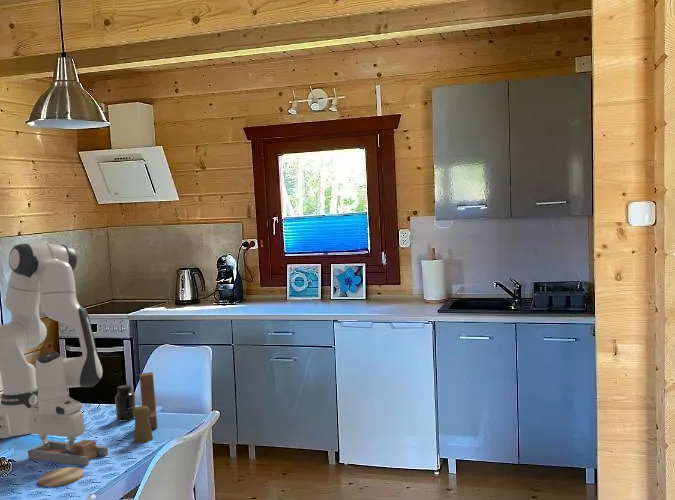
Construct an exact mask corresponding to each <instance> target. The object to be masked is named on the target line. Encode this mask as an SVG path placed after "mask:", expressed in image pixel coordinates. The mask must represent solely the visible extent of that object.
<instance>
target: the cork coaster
mask: <svg viewBox="0 0 675 500" xmlns="http://www.w3.org/2000/svg"><path fill="white" fill-rule="evenodd" d="M84 475H85V472H84V469H83V468H81V467H75V466H72V467H70V466H69V467H62V468H57V469H54V470H53V469H52V470H51V471H48V472H46V473H44V474H42V475H40V477H39V478H38V485H40V486H41V485H42V486H41V487H44V486H51V487H50V488H53V487H52V486H56V487H61V486H60V485H62V486H66V485H68V484H69V483H70V484H72V483H75V482H77V481H79V480H81V479H82V478H83V477H84ZM81 477H82V478H81ZM65 484H66V485H65Z"/></svg>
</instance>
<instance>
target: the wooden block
mask: <svg viewBox="0 0 675 500" xmlns="http://www.w3.org/2000/svg"><path fill="white" fill-rule="evenodd" d="M139 387H140V398H141V406H147V407H148V408H149V415H148V418H149V422H150V426H151V430H157V429H158V417H157V404H156V396H155V395H156V394H155V393H156V392H155V383H154V372H153V371H151V372H142V373H140V374H139Z"/></svg>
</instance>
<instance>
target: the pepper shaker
mask: <svg viewBox="0 0 675 500" xmlns="http://www.w3.org/2000/svg"><path fill="white" fill-rule="evenodd" d="M133 415H134V417H135V418H134V437H133V439H134V440H133V442H134V443H138V444H139V443H146V442H150V441H152V440H154V436H153V431H152V429H151V426H150V422H149V418H148V415H149V408H148V407H147V406H142V405H138V406H135V408H134V410H133Z"/></svg>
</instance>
